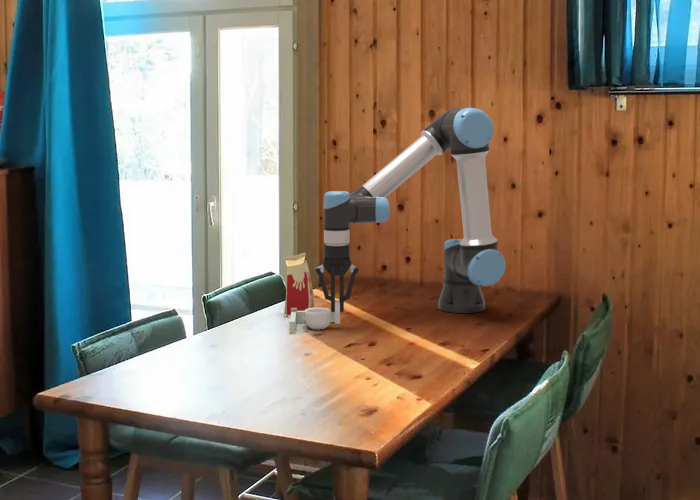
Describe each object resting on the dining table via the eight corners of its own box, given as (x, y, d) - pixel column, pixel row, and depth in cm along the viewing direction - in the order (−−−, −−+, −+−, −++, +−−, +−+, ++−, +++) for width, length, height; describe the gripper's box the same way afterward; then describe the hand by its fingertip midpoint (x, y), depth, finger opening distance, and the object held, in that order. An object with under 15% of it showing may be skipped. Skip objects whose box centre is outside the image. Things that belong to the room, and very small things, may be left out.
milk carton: (314, 311, 289) (313, 250, 286) (310, 317, 280) (309, 254, 277) (286, 311, 290) (285, 250, 287) (281, 317, 280) (280, 254, 278)
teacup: (336, 327, 266) (336, 309, 266) (320, 332, 260) (320, 314, 259) (310, 323, 272) (309, 305, 271) (294, 327, 266) (293, 310, 265)
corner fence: (335, 321, 274) (335, 307, 274) (336, 333, 259) (336, 318, 259) (291, 321, 274) (290, 307, 273) (289, 333, 259) (289, 318, 258)
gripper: (358, 242, 266) (358, 319, 270) (314, 242, 266) (315, 320, 269) (359, 245, 259) (359, 325, 262) (314, 246, 259) (315, 325, 262)
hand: (337, 322), depth 266 cm, fingers closed
